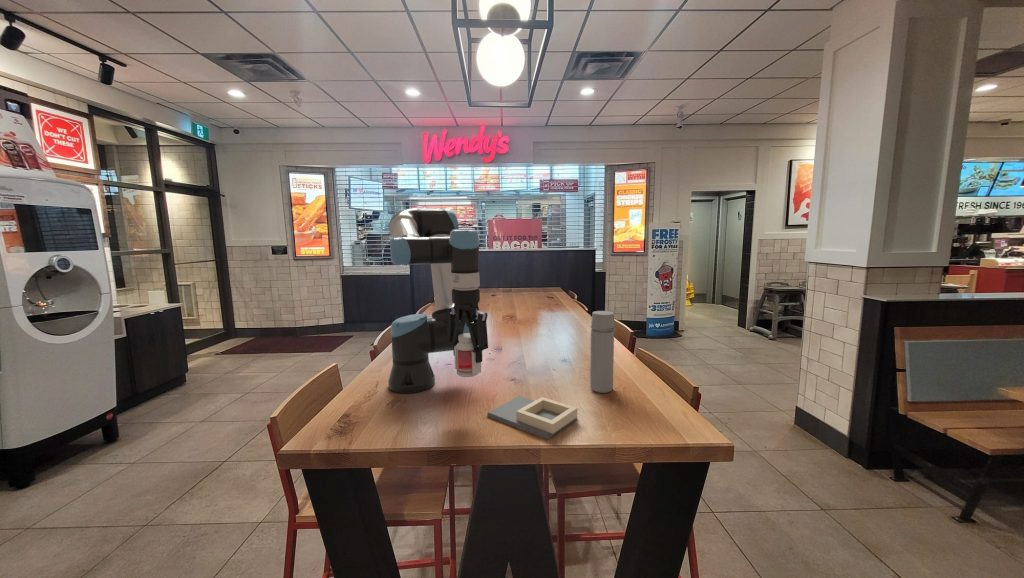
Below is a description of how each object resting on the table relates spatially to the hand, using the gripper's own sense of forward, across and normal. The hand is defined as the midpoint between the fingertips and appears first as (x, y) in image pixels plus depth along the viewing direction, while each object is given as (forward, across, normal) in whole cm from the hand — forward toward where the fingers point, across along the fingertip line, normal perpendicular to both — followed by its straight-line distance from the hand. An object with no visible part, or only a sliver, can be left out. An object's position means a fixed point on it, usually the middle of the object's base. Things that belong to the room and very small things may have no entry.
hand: (467, 370), depth 107 cm
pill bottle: (+1, 0, 0) cm, 1 cm away
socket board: (+12, +16, +8) cm, 22 cm away
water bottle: (+13, +22, +38) cm, 46 cm away
